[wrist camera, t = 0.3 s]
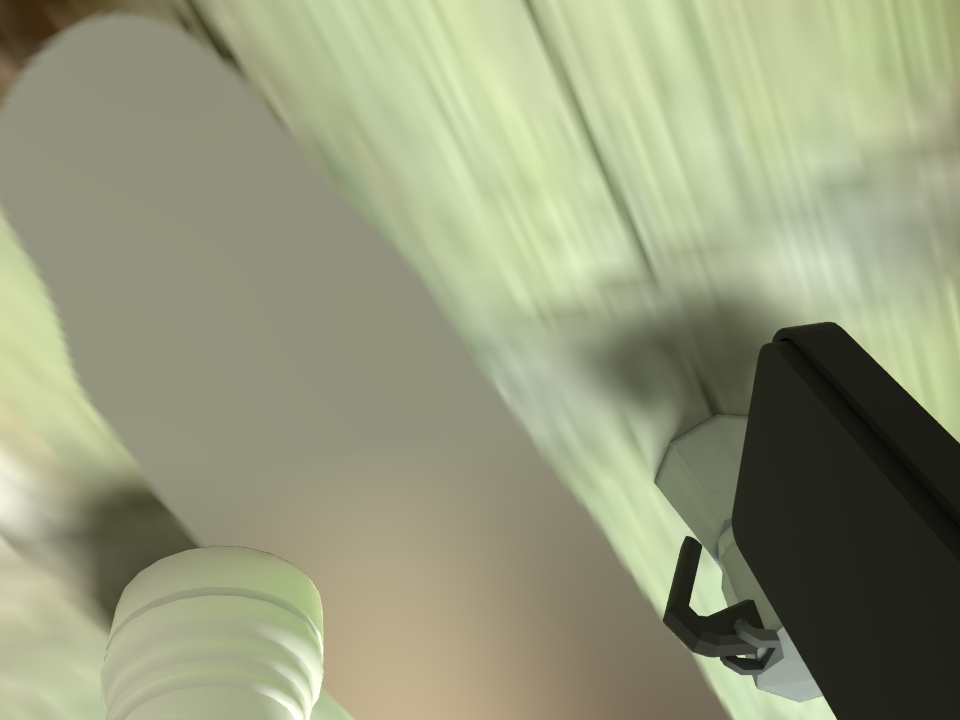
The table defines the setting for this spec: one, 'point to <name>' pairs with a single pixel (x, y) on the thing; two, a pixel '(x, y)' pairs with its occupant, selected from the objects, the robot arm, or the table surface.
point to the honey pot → (215, 640)
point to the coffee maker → (724, 564)
